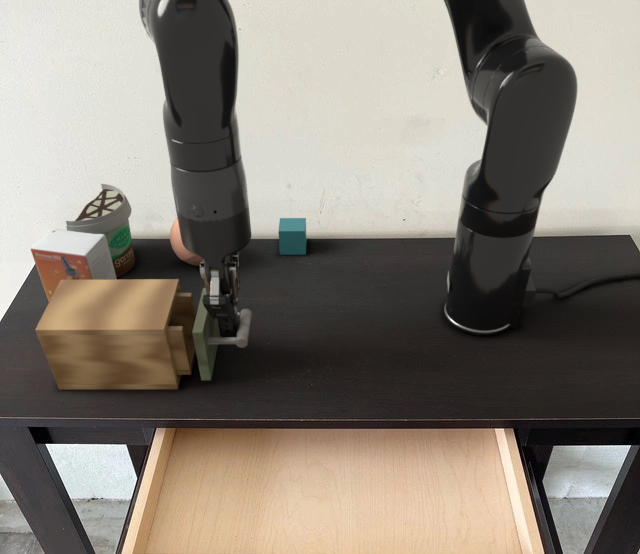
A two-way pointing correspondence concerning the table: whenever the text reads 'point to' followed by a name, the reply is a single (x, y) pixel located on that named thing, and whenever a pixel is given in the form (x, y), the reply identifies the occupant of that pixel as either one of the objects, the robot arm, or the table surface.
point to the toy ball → (182, 246)
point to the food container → (109, 225)
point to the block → (292, 236)
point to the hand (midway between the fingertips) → (230, 334)
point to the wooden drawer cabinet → (110, 334)
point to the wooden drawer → (199, 335)
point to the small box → (71, 258)
